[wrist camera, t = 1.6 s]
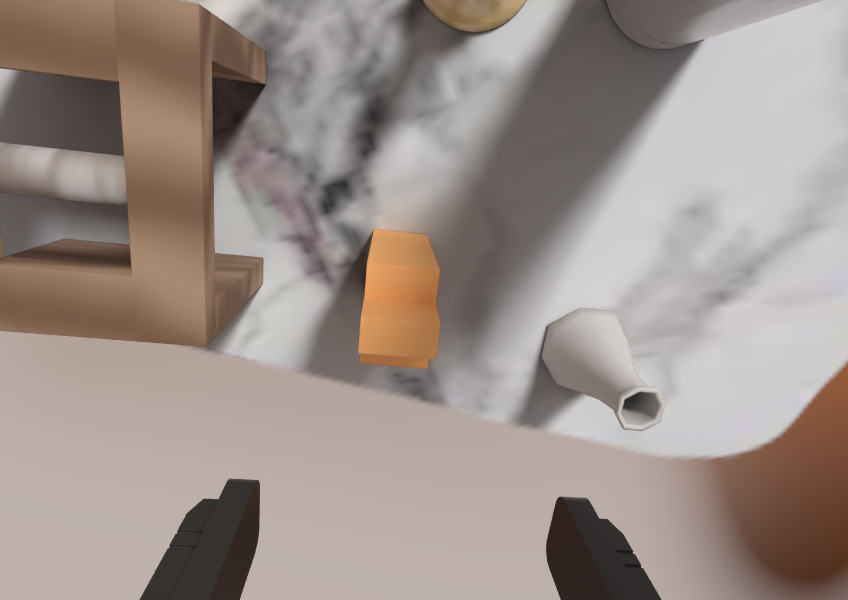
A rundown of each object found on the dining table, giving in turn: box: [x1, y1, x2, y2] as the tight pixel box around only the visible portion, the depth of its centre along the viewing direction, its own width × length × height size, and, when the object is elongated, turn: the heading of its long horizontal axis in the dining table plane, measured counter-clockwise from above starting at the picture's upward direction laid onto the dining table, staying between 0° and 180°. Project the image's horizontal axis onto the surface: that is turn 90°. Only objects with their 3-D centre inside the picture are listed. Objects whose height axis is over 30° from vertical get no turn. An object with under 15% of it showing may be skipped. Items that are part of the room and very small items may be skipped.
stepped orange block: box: [358, 229, 441, 369], centre depth 31 cm, size 6×4×14 cm, turn 173°
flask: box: [542, 308, 665, 431], centre depth 36 cm, size 7×7×10 cm
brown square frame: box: [0, 0, 267, 347], centre depth 28 cm, size 16×14×12 cm
